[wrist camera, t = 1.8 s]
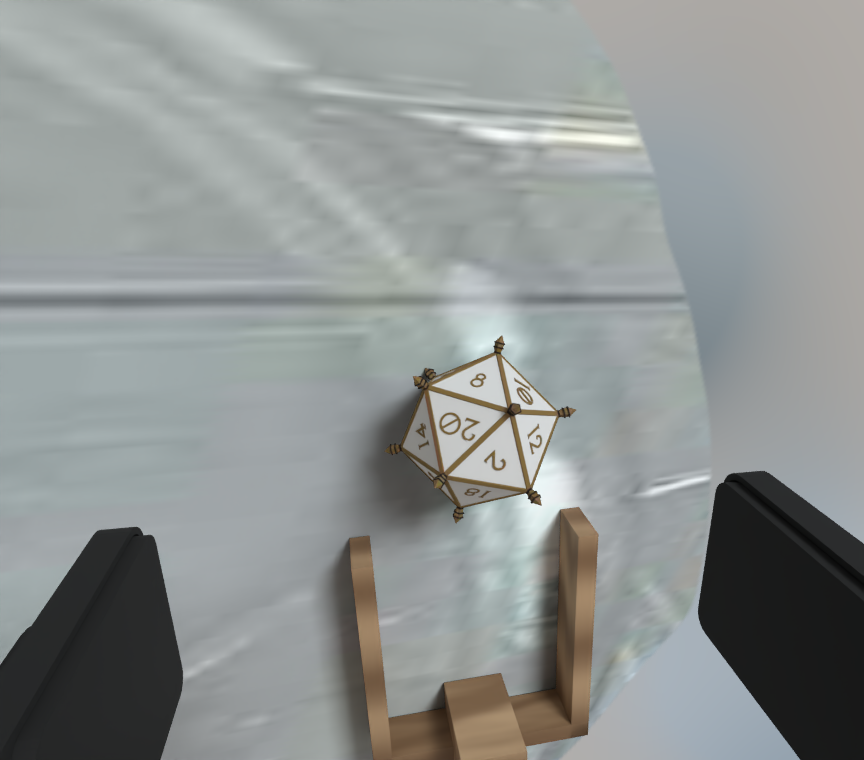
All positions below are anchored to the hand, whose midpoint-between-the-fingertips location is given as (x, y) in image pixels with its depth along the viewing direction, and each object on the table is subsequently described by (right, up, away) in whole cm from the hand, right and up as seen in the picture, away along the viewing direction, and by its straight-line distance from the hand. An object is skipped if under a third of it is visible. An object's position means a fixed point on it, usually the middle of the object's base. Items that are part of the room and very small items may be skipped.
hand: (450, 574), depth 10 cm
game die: (+1, +2, +25) cm, 25 cm away
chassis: (+2, -13, +30) cm, 33 cm away
